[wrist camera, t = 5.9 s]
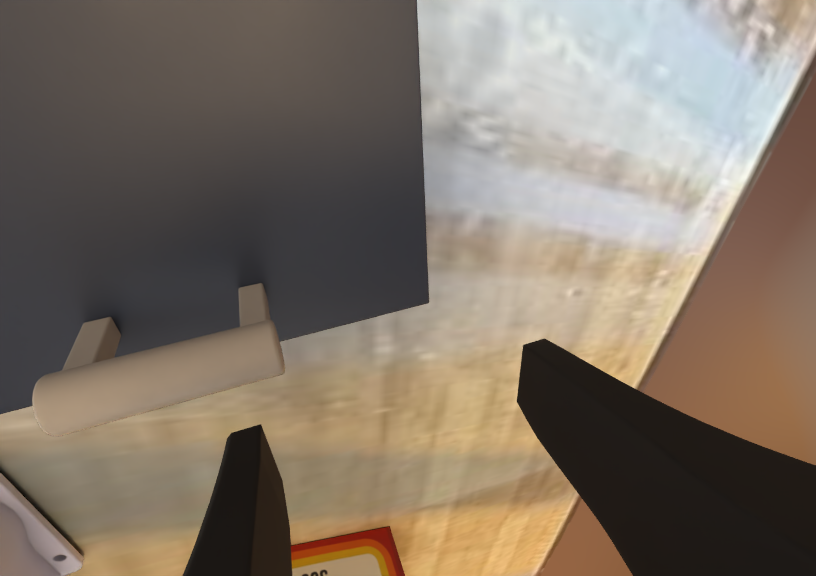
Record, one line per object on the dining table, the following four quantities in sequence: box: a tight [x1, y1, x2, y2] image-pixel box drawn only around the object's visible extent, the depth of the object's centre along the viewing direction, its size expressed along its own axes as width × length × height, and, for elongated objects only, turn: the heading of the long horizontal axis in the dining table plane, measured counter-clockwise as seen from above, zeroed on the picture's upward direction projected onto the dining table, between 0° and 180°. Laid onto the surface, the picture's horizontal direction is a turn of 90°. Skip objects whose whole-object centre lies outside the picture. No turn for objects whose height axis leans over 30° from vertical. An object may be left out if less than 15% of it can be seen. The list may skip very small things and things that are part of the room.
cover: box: [0, 0, 429, 436], centre depth 9 cm, size 11×15×4 cm
